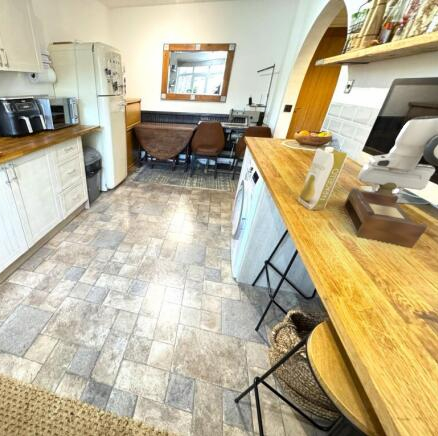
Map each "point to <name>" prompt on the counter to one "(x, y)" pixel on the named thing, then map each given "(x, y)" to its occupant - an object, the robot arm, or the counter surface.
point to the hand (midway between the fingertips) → (382, 195)
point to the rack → (381, 218)
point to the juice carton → (322, 178)
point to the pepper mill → (386, 188)
